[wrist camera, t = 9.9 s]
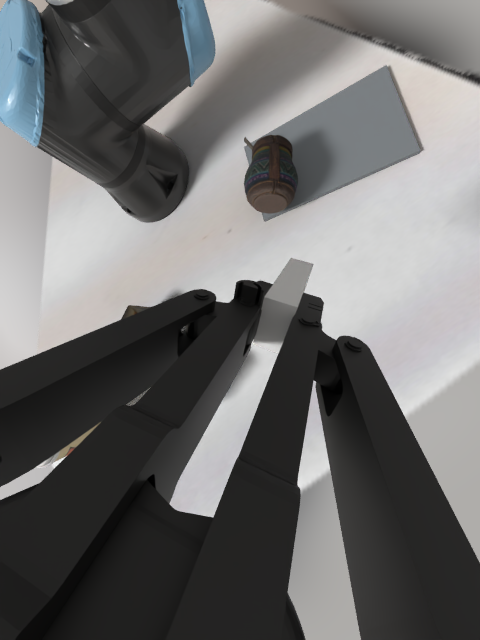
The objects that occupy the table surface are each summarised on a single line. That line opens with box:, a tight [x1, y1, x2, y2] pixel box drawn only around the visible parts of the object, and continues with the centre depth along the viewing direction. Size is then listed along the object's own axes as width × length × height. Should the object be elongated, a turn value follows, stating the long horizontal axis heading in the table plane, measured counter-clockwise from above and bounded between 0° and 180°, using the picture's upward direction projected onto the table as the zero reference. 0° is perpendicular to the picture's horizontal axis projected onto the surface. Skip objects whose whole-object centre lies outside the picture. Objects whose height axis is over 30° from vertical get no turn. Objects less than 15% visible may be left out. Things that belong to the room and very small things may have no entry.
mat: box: [244, 65, 420, 221], centre depth 35 cm, size 13×20×1 cm, turn 104°
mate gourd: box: [244, 135, 298, 214], centre depth 33 cm, size 7×8×10 cm
